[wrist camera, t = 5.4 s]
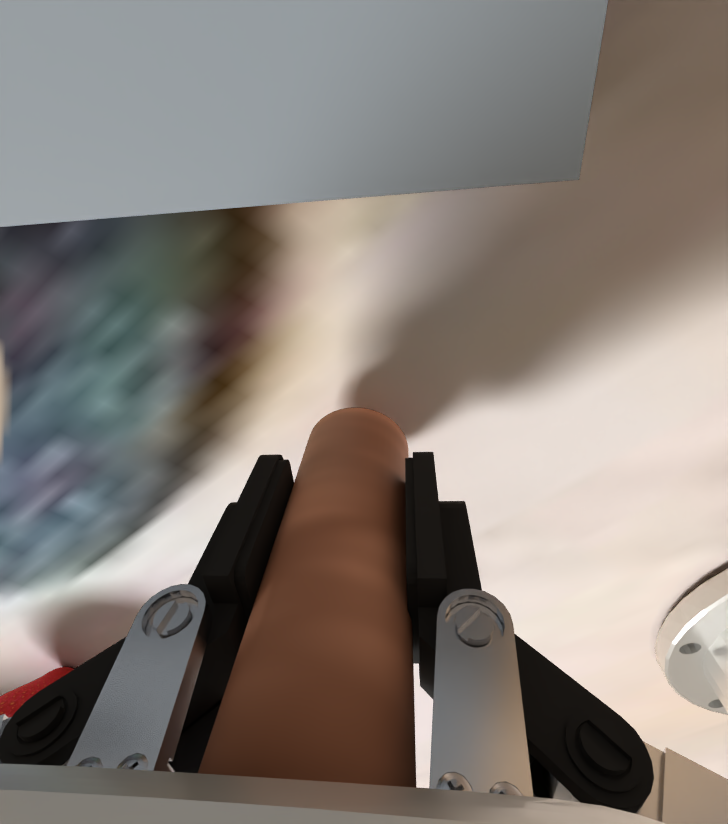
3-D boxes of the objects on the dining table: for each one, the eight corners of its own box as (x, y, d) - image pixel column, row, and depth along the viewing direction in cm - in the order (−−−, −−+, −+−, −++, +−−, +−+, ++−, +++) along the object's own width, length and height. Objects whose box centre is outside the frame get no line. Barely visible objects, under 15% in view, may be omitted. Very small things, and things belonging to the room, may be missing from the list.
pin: (406, 406, 13) (416, 792, 5) (409, 489, 14) (418, 878, 7) (301, 409, 13) (153, 775, 5) (315, 489, 15) (217, 861, 7)
